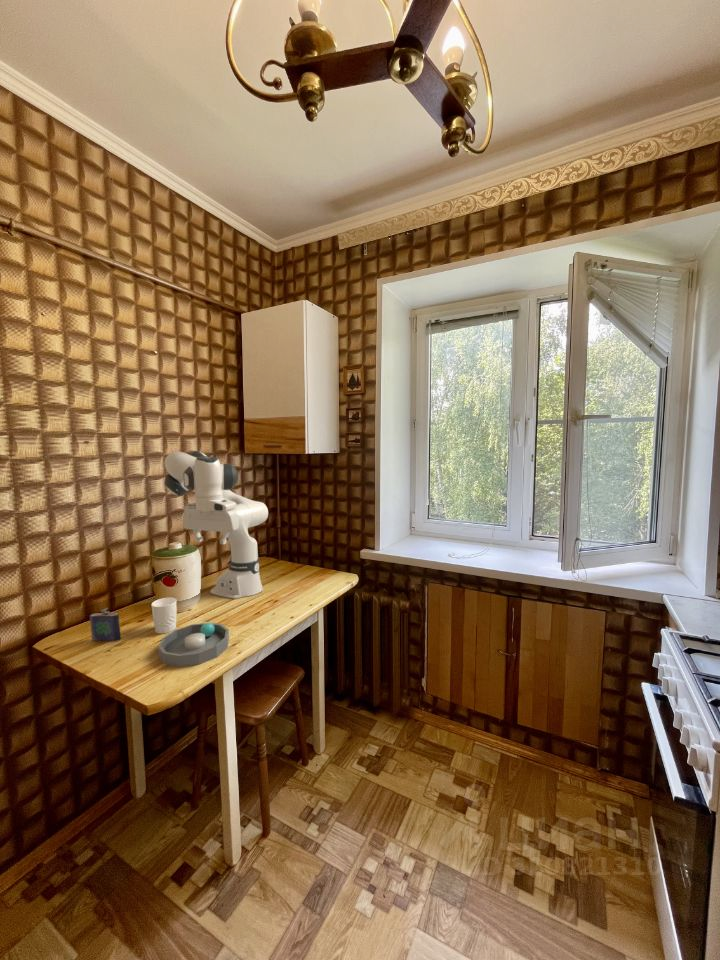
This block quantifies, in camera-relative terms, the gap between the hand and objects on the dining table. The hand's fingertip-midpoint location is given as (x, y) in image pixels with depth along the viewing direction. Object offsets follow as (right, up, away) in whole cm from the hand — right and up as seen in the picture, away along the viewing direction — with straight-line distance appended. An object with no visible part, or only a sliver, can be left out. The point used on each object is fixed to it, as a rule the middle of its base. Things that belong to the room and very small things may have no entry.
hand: (211, 542), depth 133 cm
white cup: (-17, -31, +2) cm, 35 cm away
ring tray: (-1, -32, -11) cm, 34 cm away
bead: (+1, -28, -6) cm, 29 cm away
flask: (-33, -32, -5) cm, 46 cm away
